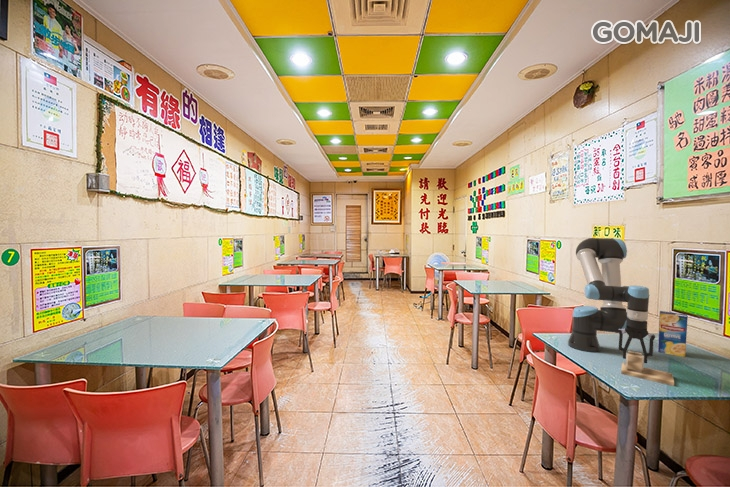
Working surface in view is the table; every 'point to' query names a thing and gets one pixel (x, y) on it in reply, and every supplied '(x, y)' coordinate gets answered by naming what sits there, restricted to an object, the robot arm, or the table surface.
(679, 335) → the blue food box
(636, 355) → the block
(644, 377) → the board
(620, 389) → the table surface
